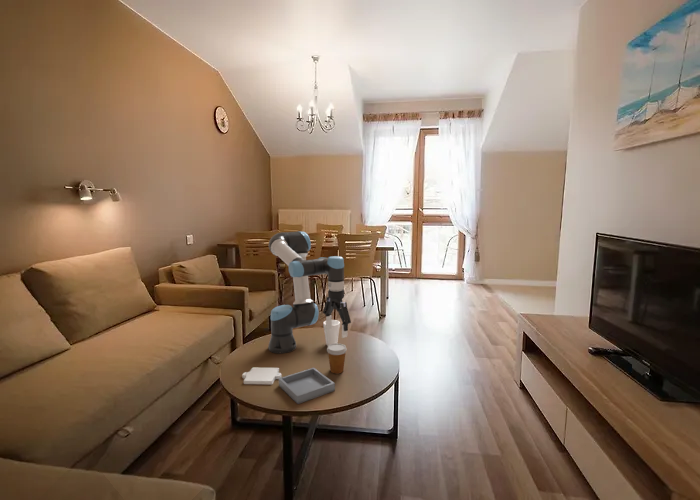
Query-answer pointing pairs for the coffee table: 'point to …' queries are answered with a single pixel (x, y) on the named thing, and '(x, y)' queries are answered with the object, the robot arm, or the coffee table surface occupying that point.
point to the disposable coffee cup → (336, 357)
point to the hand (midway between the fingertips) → (336, 332)
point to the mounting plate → (261, 375)
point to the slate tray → (306, 385)
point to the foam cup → (332, 332)
